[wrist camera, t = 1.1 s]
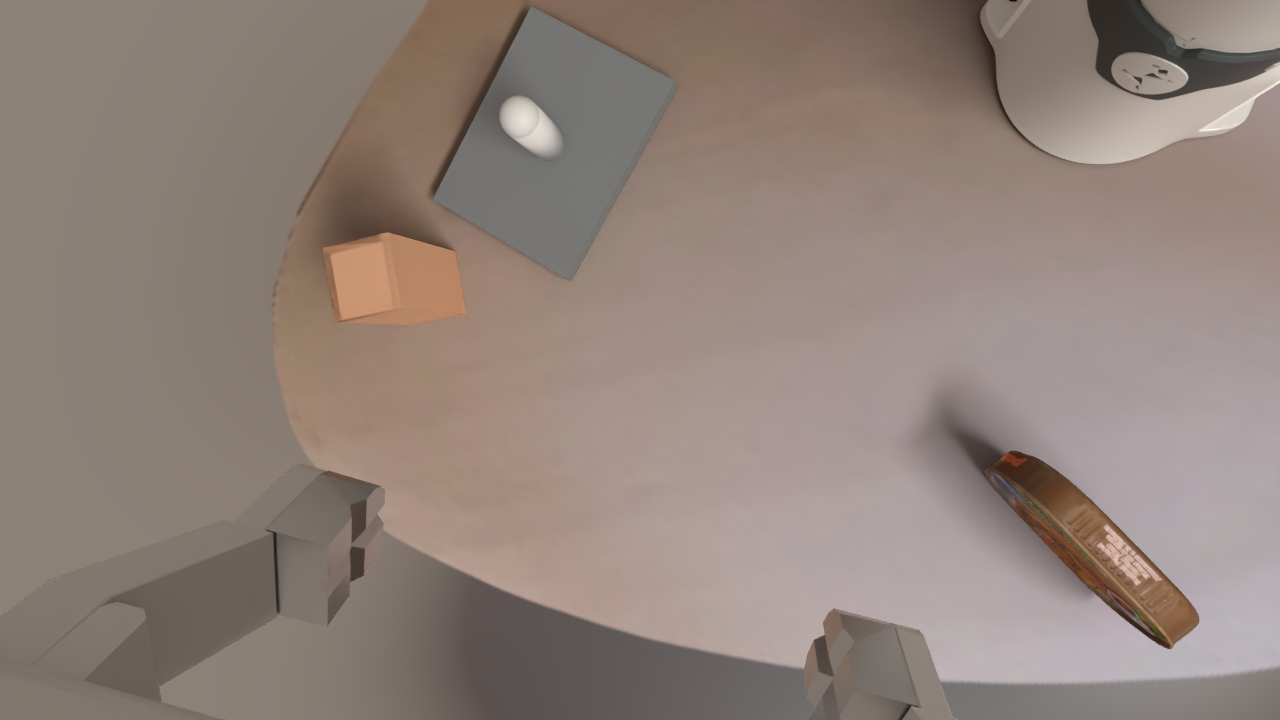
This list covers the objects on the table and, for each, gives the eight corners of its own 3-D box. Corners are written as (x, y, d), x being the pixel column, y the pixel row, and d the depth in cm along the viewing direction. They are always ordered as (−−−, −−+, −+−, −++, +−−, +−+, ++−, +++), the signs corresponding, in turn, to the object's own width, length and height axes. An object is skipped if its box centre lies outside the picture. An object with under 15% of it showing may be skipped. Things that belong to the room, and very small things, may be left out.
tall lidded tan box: (399, 264, 57) (321, 248, 47) (455, 251, 55) (387, 232, 46) (410, 325, 57) (334, 321, 47) (466, 313, 55) (400, 307, 46)
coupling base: (537, 15, 53) (491, -49, 44) (677, 88, 51) (658, 35, 42) (441, 203, 56) (379, 177, 47) (571, 280, 53) (531, 269, 45)
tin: (967, 461, 47) (1008, 486, 39) (1001, 434, 47) (1050, 454, 39) (1115, 617, 46) (1191, 678, 38) (1152, 591, 45) (1238, 647, 37)
